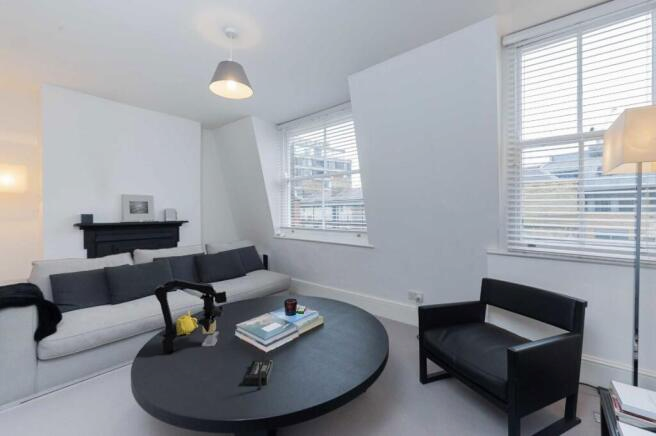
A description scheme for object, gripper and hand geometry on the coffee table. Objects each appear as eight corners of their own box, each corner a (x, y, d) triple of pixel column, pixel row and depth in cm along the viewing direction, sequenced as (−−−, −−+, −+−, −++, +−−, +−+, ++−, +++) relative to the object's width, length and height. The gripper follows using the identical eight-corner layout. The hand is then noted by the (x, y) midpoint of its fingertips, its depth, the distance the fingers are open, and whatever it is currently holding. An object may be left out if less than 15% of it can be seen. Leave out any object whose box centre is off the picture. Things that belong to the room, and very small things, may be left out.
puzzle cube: (306, 319, 211) (306, 306, 211) (304, 325, 201) (303, 311, 201) (293, 319, 212) (293, 305, 212) (290, 324, 202) (290, 311, 202)
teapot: (193, 338, 182) (192, 321, 182) (168, 340, 180) (168, 322, 179) (202, 325, 202) (201, 309, 201) (180, 327, 200) (179, 311, 199)
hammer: (213, 346, 172) (213, 338, 172) (202, 346, 172) (201, 339, 172) (222, 333, 189) (222, 326, 189) (211, 333, 189) (211, 326, 189)
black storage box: (249, 366, 151) (249, 335, 150) (276, 366, 151) (275, 334, 150) (238, 391, 131) (237, 355, 130) (269, 390, 131) (268, 354, 130)
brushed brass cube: (212, 333, 173) (212, 323, 172) (202, 333, 172) (202, 324, 172) (216, 329, 179) (215, 319, 178) (206, 329, 178) (205, 320, 178)
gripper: (217, 309, 166) (218, 335, 167) (226, 299, 184) (226, 322, 185) (197, 310, 165) (198, 336, 166) (208, 299, 184) (209, 323, 184)
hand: (209, 329), depth 175 cm, fingers closed on brushed brass cube, 6 cm apart
